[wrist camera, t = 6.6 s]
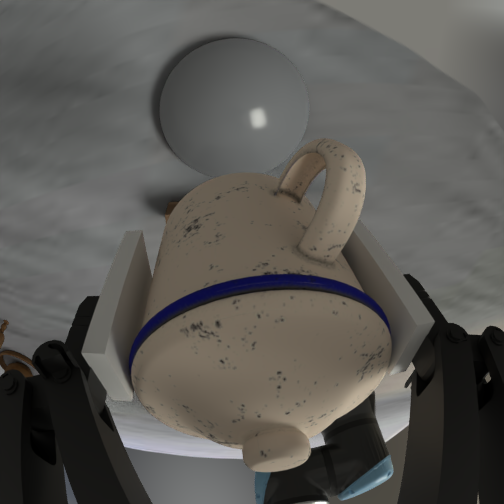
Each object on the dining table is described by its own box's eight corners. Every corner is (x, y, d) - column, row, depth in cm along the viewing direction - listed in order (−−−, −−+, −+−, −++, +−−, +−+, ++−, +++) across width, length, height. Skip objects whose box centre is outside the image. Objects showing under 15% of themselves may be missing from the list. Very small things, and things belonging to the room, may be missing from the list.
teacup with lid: (281, 317, 20) (322, 486, 11) (145, 286, 18) (115, 481, 8) (376, 154, 14) (547, 306, 5) (208, 82, 12) (170, 137, 2)
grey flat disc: (301, 175, 31) (304, 178, 30) (166, 180, 30) (165, 183, 29) (309, 43, 23) (312, 42, 23) (159, 43, 22) (157, 42, 21)
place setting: (-13, 352, 43) (-22, 373, 39) (0, 309, 37) (-14, 334, 32) (50, 393, 52) (44, 414, 47) (79, 362, 46) (72, 389, 41)
